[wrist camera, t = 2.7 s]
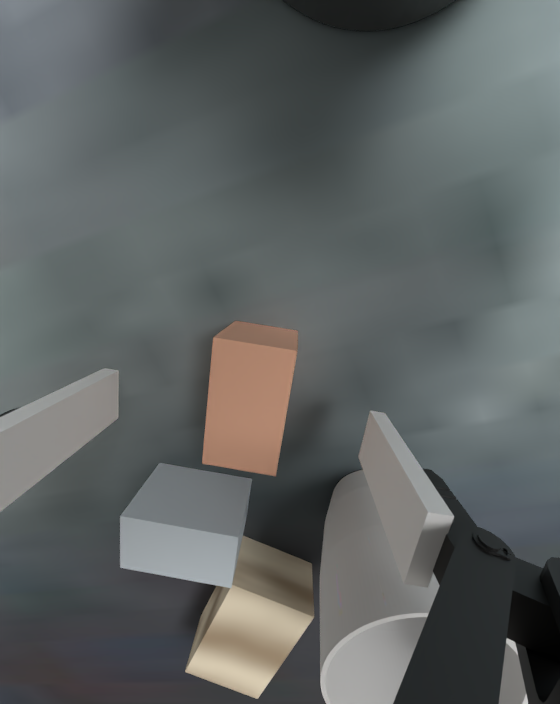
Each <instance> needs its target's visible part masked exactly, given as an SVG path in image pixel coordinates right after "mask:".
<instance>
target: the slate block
mask: <svg viewBox="0 0 560 704" xmlns="http://www.w3.org/2000/svg"><path fill="white" fill-rule="evenodd" d="M251 484H252V479H250V478H245V477H239V476H233V475H227V474H222V473H216V472H210V471H204V470H199V469H193V468H187V467H182V466H176V465H170V464H164V463H159V464H158V466H157V467H156V468H155V470H154V471H153V472H152V474H151V475H150V476H149V478H148V479H147V480H146V482H145V483H144V484H143V486H142V487H141V489H140V490H139V491H138V493H137V494H136V495H135V497H134V498H133V499H132V501H131V502H130V503H129V505H128V506H127V507H126V509H125V510H124V511H123V513H122V514H121V516H120V568H125V569H130V570H136V571H141V572H146V573H152V574H157V575H163V576H168V577H173V578H179V579H184V580H190V581H195V582H200V583H206V584H211V585H217V586H222V587H227V588H232V583H233V578H234V574H235V569H236V565H237V560H238V555H239V551H240V546H241V542H242V537H243V533H244V528H245V523H246V517H247V511H248V504H249V497H250V491H251Z"/></svg>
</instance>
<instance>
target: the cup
mask: <svg viewBox="0 0 560 704" xmlns="http://www.w3.org/2000/svg"><path fill="white" fill-rule="evenodd" d="M439 586H440V585H439V583H438V581H437V579H436V577H435V575H434V573H433V575H432V578H431V581H430V583H429V586H428V588H426V587H420V586H414V585H408V584H404V583H403V581H402V578H401V575H400V572H399V569H398V567H397V564H396V561H395V558H394V555H393V553H392V550H391V547H390V544H389V541H388V539H387V536H386V533H385V530H384V527H383V525H382V522H381V519H380V516H379V513H378V511H377V508H376V505H375V502H374V499H373V497H372V494H371V491H370V488H369V485H368V483H367V480H366V477H365V474H364V471H363V470H360V471H356V472H353V473H350V474H348V475H347V476H345V477H344V478H342V479H341V480H340V481H339V482H338V484H337V485H336V487H335V488H334V491H333V494H332V498H331V501H330V505H329V509H328V512H327V516H326V519H325V526H324V537H323V547H322V558H321V568H320V683H321V691H322V694H323V697H324V700H325V702H326V704H393V702H394V700H395V697H396V695H397V692H398V690H399V687H400V685H401V682H402V680H403V677H404V675H405V672H406V670H407V667H408V665H409V662H410V660H411V657H412V654H413V652H414V649H415V647H416V644H417V642H418V639H419V637H420V634H421V632H422V629H423V627H424V624H425V622H426V619H427V617H428V614H429V611H430V609H431V606H432V604H433V601H434V599H435V596H436V594H437V591H438V589H439ZM499 704H528V699H527V694H526V690H525V685H524V680H523V676H522V671H521V666H520V662H519V657H518V652H517V648H516V643H515V642H514V641H512V640H510V639H508V638H507V639H506V647H505V655H504V663H503V672H502V680H501V688H500V696H499Z"/></svg>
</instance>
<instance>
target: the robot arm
mask: <svg viewBox="0 0 560 704" xmlns="http://www.w3.org/2000/svg"><path fill="white" fill-rule="evenodd" d="M284 1H285V2H286V3H288V4H289V5H290V6H292V7H293V8H294V9H296V10H298V11H299V12H301V13H302V14H304V15H306V16H308V17H310V18H312V19H314V20H316V21H319V22H321V23H324V24H326V25H330V26H333V27H337V28H342V29H347V30H356V31H376V30H385V29H391V28H396V27H400V26H403V25H407V24H410V23H413V22H416V21H418V20H421V19H423V18H425V17H427V16H430V15H432V14H434V13H436V12H437V11H439V10H441V9H443V8H445V7H446V6H448V5H449V4H451V3H452V2H454V1H455V0H284ZM118 413H119V370H113V369H107V368H103V369H101V370H99V371H97V372H95V373H93V374H91V375H89V376H86V377H84V378H82V379H80V380H78V381H76V382H74V383H72V384H69V385H67V386H65V387H63V388H61V389H59V390H57V391H55V392H53V393H50V394H48V395H46V396H44V397H42V398H40V399H38V400H36V401H33V402H31V403H29V404H27V405H25V406H23V407H20V408H16V409H13V410H10V411H8V412H5V413H3V414H1V415H0V512H1V511H2V510H4V509H5V508H6V507H7V506H9V505H10V504H11V503H12V502H14V501H15V500H16V499H17V498H19V497H20V496H21V495H22V494H24V493H25V492H26V491H27V490H29V489H30V488H31V487H33V486H34V485H35V484H36V483H38V482H39V481H40V480H41V479H43V478H44V477H45V476H46V475H48V474H49V473H50V472H51V471H53V470H54V469H55V468H56V467H58V466H59V465H60V464H61V463H63V462H64V461H65V460H66V459H68V458H69V457H70V456H72V455H73V454H74V453H75V452H77V451H78V450H79V449H80V448H82V447H83V446H84V445H85V444H87V443H88V442H89V441H90V440H92V439H93V438H94V437H95V436H97V435H98V434H99V433H100V432H102V431H103V430H104V429H105V428H107V427H108V426H109V425H111V424H112V423H113V422H114V421H116V420H117V419H118ZM358 457H359V460H360V463H361V466H362V469H363V471H364V474H365V477H366V480H367V483H368V485H369V488H370V491H371V494H372V497H373V499H374V502H375V505H376V508H377V511H378V513H379V516H380V519H381V522H382V525H383V527H384V530H385V533H386V536H387V539H388V541H389V544H390V547H391V550H392V553H393V555H394V558H395V561H396V564H397V567H398V569H399V572H400V575H401V578H402V581H403V583H404V584H408V585H414V586H420V587H426V588H428V586H429V583H430V581H431V578H432V575H433V573H434V575H435V577H436V579H437V581H438V583H439V585H440V586H439V589H438V591H437V594H436V596H435V599H434V601H433V604H432V606H431V609H430V611H429V614H428V617H427V619H426V622H425V624H424V627H423V629H422V632H421V634H420V637H419V639H418V642H417V644H416V647H415V649H414V652H413V654H412V657H411V660H410V662H409V665H408V667H407V670H406V672H405V675H404V677H403V680H402V682H401V685H400V687H399V690H398V692H397V695H396V697H395V700H394V702H393V704H499V696H500V688H501V680H502V672H503V663H504V655H505V647H506V639H507V638H508V639H510V640H512V641H514V642H515V643H516V648H517V652H518V657H519V662H520V666H521V671H522V676H523V680H524V685H525V690H526V694H527V699H528V704H560V558H552V557H551V558H550V559H549V560H547V562H546V564H545V566H544V568H541V567H538V566H536V565H533V564H531V563H528V562H526V561H523V560H521V559H518V558H516V557H515V555H514V554H513V552H512V551H511V549H510V548H509V547H508V546H507V545H506V544H505V543H504V542H503V541H502V540H501V539H500V538H498V537H497V536H495V535H494V534H492V533H491V532H489V531H487V530H484V529H482V528H479V527H477V526H476V524H475V523H474V522H473V520H472V519H471V517H470V516H469V515H468V513H467V512H466V511H465V509H464V508H463V507H462V505H461V504H460V503H459V501H458V500H456V497H455V496H454V494H453V493H452V492H451V491H450V489H449V488H448V486H447V485H446V483H445V482H444V481H443V479H441V478H440V477H439V476H438V475H437V474H435V473H434V472H433V471H432V470H429V469H422V468H421V466H420V465H419V463H418V462H417V460H416V459H415V457H414V456H413V454H412V453H411V451H410V450H409V448H408V447H407V445H406V444H405V442H404V441H403V439H402V438H401V436H400V435H399V433H398V432H397V430H396V429H395V427H394V426H393V424H392V423H391V421H390V420H389V418H388V417H387V415H386V414H385V413H382V412H376V411H370V413H369V417H368V421H367V425H366V429H365V433H364V437H363V441H362V445H361V449H360V453H359V456H358Z"/></svg>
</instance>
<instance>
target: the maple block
mask: <svg viewBox="0 0 560 704" xmlns="http://www.w3.org/2000/svg"><path fill="white" fill-rule="evenodd" d="M313 618H314V601H313V578H312V563H309V562H307V561H305V560H302V559H300V558H297V557H295V556H292V555H290V554H287V553H285V552H282V551H280V550H278V549H275V548H273V547H270V546H268V545H265V544H263V543H260V542H258V541H255V540H253V539H250V538H248V537H246V536H243V537H242V542H241V546H240V551H239V555H238V560H237V565H236V569H235V574H234V578H233V583H232V588H227V587H222V586H216V588H215V590H214V592H213V593H212V595H211V597H210V599H209V601H208V603H207V605H206V607H205V609H204V611H203V613H202V615H201V617H200V621H199V624H198V628H197V631H196V635H195V638H194V642H193V645H192V649H191V652H190V656H189V659H188V663H187V666H186V670H185V672H187V673H190V674H192V675H195V676H198V677H200V678H203V679H206V680H208V681H211V682H214V683H216V684H219V685H222V686H224V687H227V688H230V689H232V690H235V691H238V692H240V693H243V694H246V695H248V696H251V697H254V698H256V699H258V698H259V696H260V695H261V693H262V692H263V690H264V689H265V687H266V686H267V685H268V683H269V682H270V680H271V679H272V677H273V676H274V674H275V673H276V672H277V670H278V669H279V667H280V666H281V664H282V663H283V662H284V660H285V659H286V657H287V656H288V654H289V653H290V651H291V650H292V649H293V647H294V646H295V644H296V643H297V641H298V640H299V638H300V637H301V636H302V634H303V633H304V631H305V630H306V628H307V627H308V625H309V624H310V623H311V621H312V620H313Z"/></svg>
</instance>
